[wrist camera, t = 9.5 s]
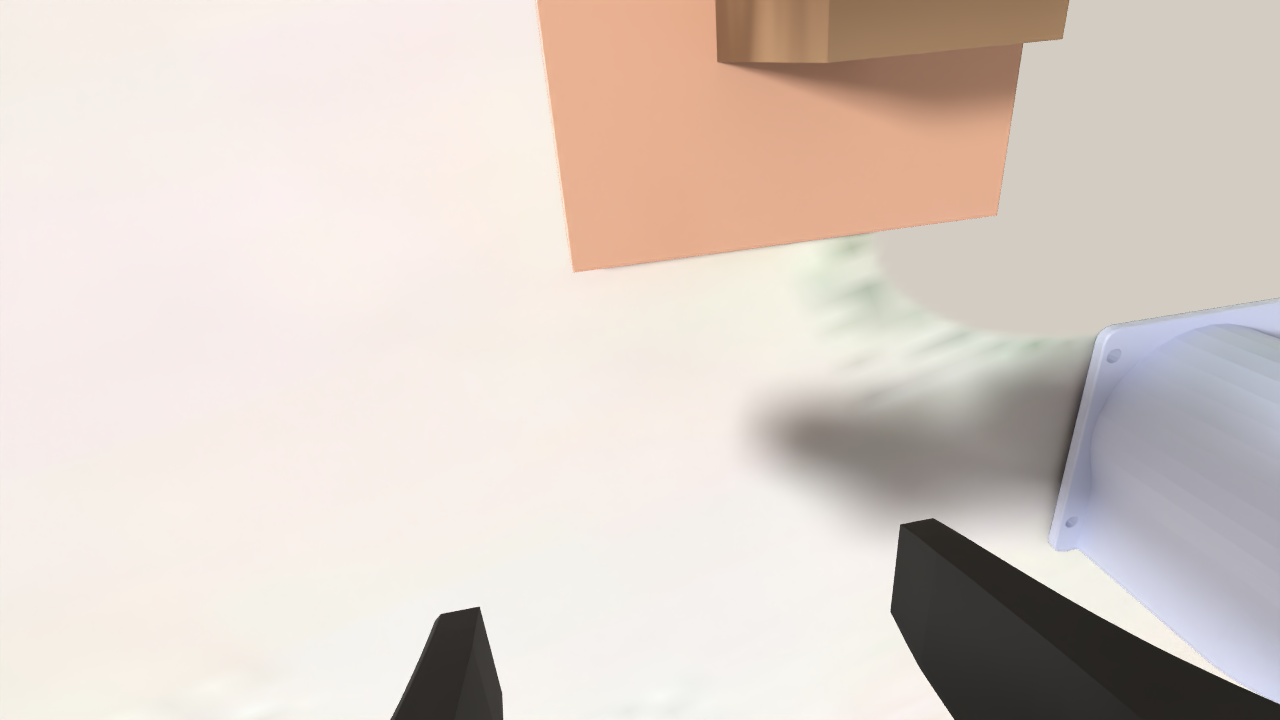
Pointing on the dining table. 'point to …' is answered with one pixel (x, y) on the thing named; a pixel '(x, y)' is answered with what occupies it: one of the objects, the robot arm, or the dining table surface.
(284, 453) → the dining table surface
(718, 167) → the terracotta tile
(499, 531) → the dining table surface
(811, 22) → the walnut block
